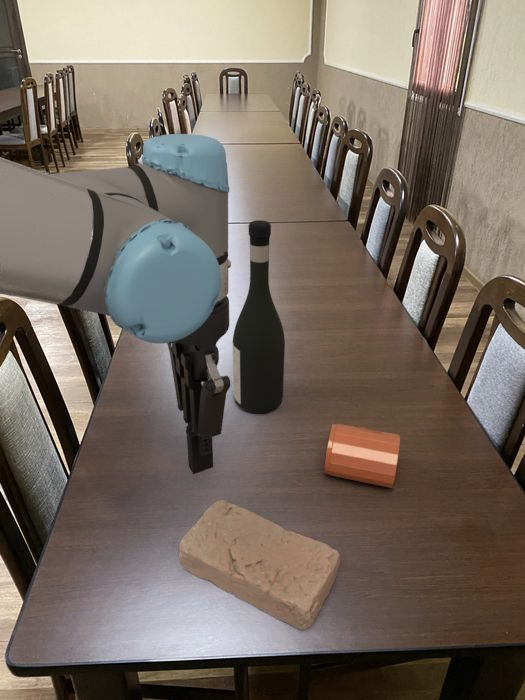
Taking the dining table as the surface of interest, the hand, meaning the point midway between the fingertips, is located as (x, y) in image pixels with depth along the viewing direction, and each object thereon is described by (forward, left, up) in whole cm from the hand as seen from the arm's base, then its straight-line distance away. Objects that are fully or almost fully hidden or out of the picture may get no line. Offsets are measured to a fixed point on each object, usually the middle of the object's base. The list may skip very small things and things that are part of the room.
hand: (201, 466), depth 67 cm
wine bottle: (+16, +15, -6) cm, 23 cm away
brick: (+1, -13, -6) cm, 15 cm away
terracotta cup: (+18, -3, -2) cm, 18 cm away
